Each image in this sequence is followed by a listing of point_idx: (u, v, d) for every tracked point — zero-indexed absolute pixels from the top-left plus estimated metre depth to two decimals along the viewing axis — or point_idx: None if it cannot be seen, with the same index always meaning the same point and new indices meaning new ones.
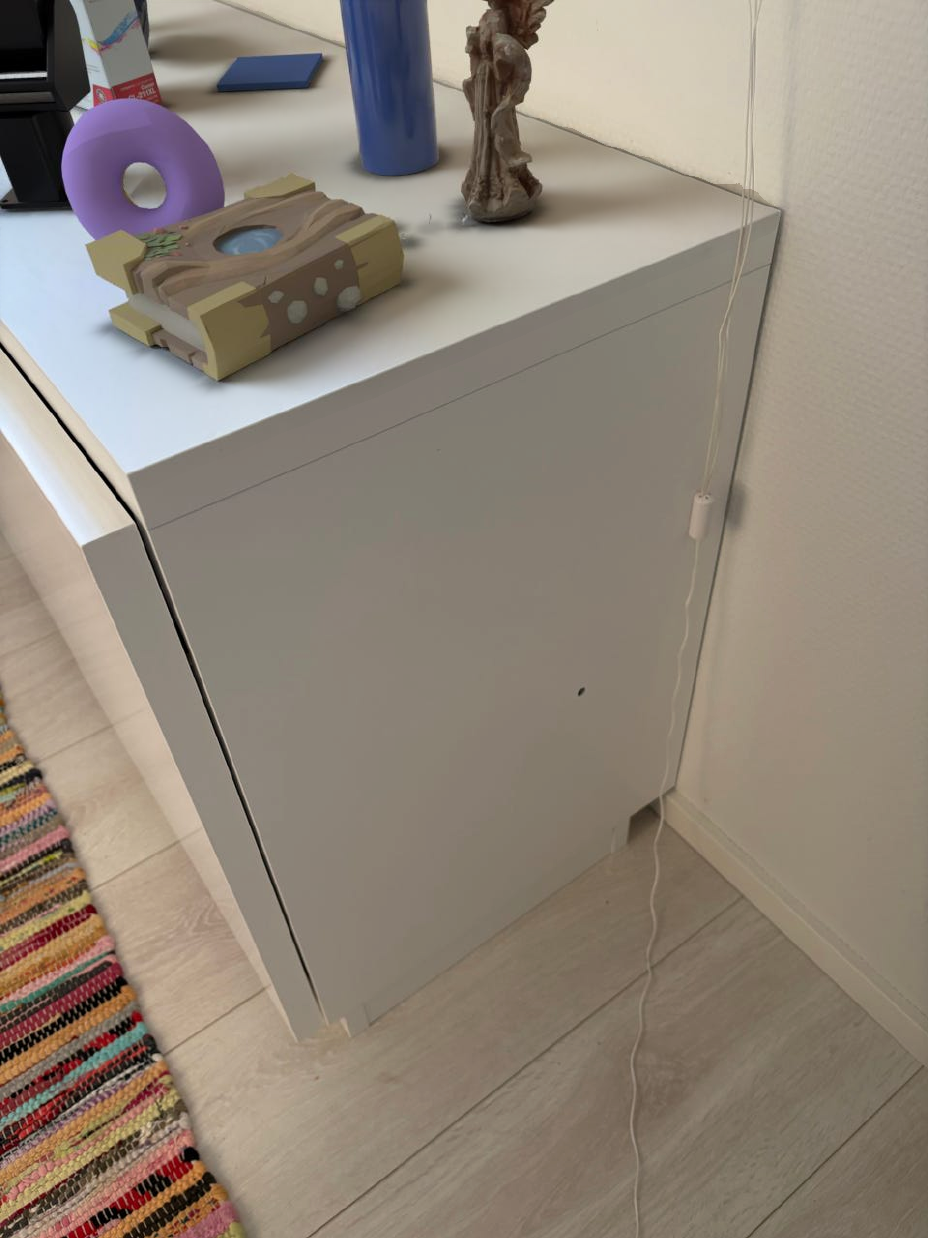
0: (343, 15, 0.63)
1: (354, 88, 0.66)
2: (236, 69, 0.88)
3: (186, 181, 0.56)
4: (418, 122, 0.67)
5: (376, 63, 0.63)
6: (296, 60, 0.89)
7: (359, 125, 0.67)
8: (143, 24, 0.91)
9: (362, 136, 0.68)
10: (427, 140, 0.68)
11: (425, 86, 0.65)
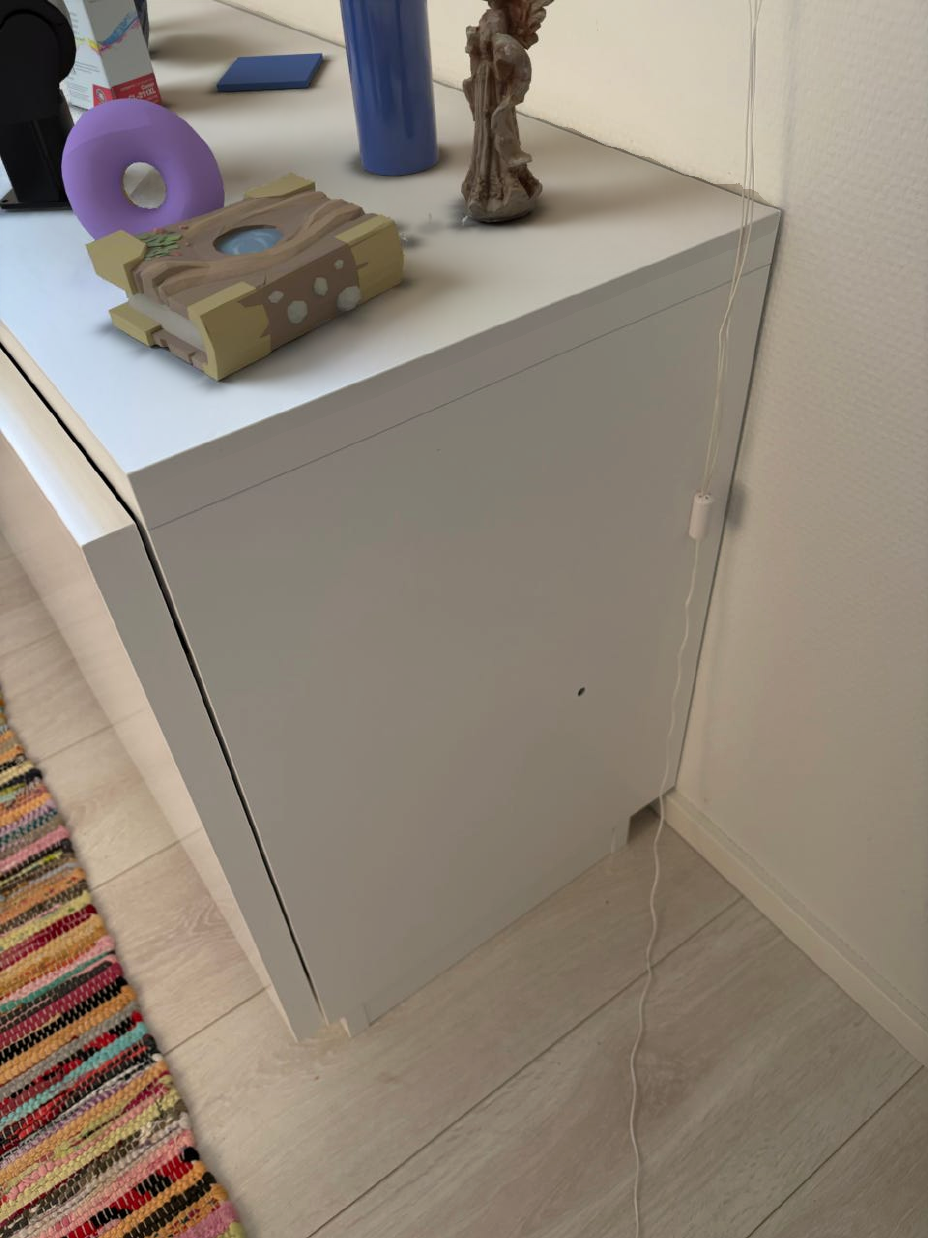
0: (343, 15, 0.63)
1: (354, 88, 0.66)
2: (236, 69, 0.88)
3: (186, 181, 0.56)
4: (418, 122, 0.67)
5: (376, 63, 0.63)
6: (296, 60, 0.89)
7: (359, 125, 0.67)
8: (143, 24, 0.91)
9: (362, 136, 0.68)
10: (427, 140, 0.68)
11: (425, 86, 0.65)
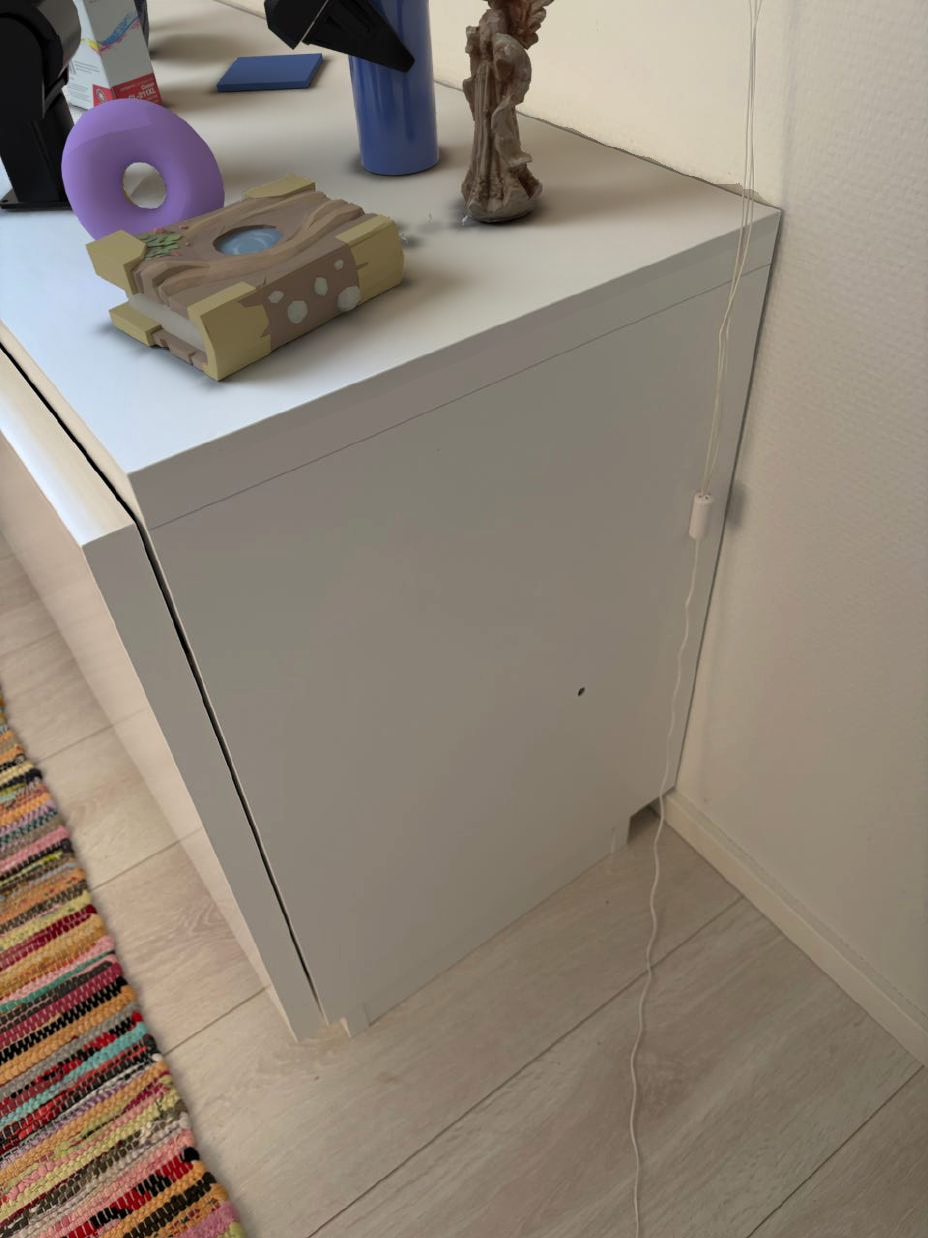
0: None
1: (355, 87, 0.66)
2: (236, 69, 0.88)
3: (186, 181, 0.56)
4: (419, 121, 0.66)
5: None
6: (296, 60, 0.89)
7: (360, 124, 0.67)
8: (143, 24, 0.91)
9: (362, 135, 0.68)
10: (428, 140, 0.68)
11: (426, 85, 0.65)
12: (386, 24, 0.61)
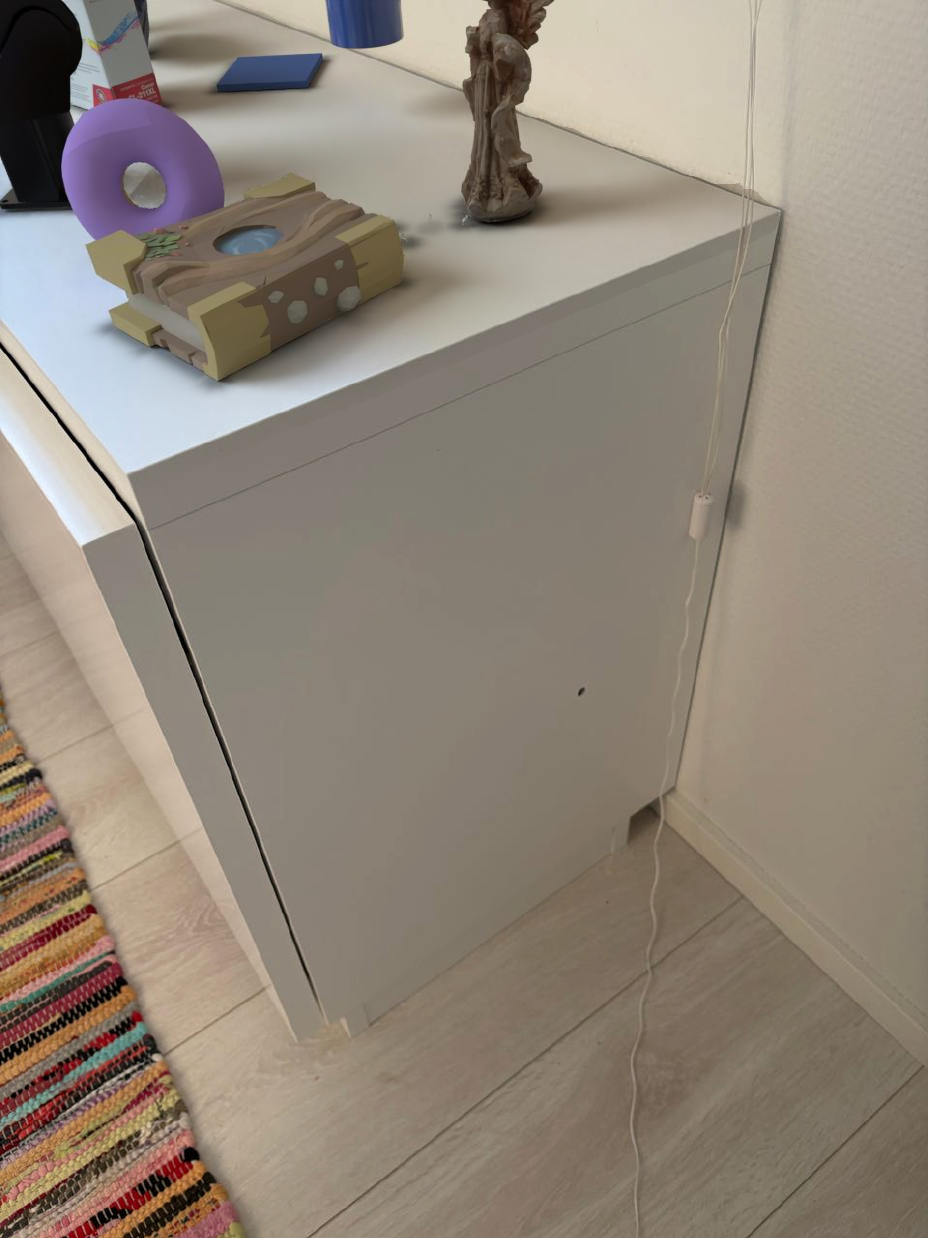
0: None
1: None
2: (236, 69, 0.88)
3: (186, 181, 0.56)
4: None
5: None
6: (296, 60, 0.89)
7: (339, 1, 0.71)
8: (143, 24, 0.91)
9: (342, 12, 0.72)
10: (400, 10, 0.73)
11: None
12: None
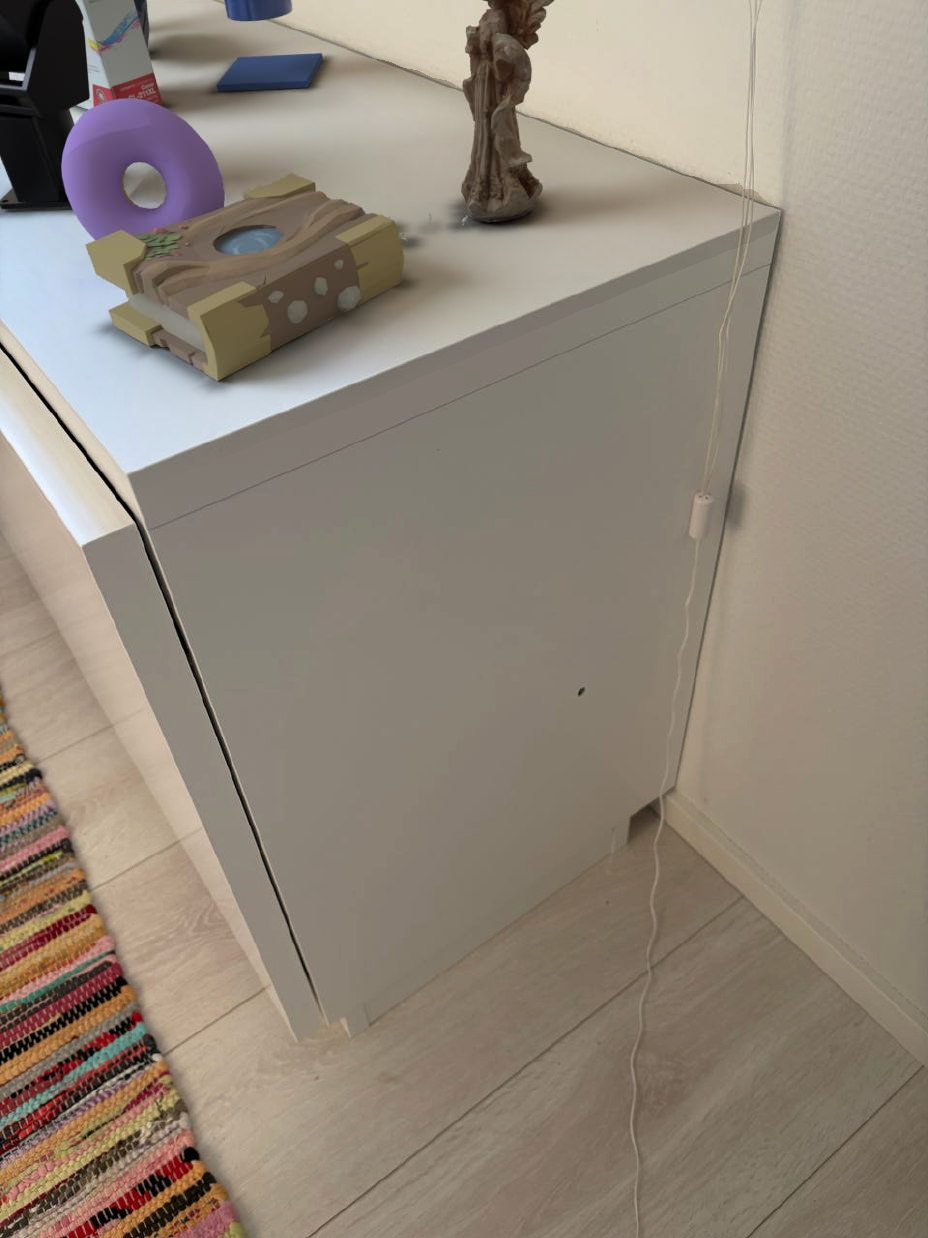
0: None
1: None
2: (236, 69, 0.88)
3: (186, 181, 0.56)
4: None
5: None
6: (296, 60, 0.89)
7: None
8: (143, 24, 0.91)
9: None
10: None
11: None
12: None
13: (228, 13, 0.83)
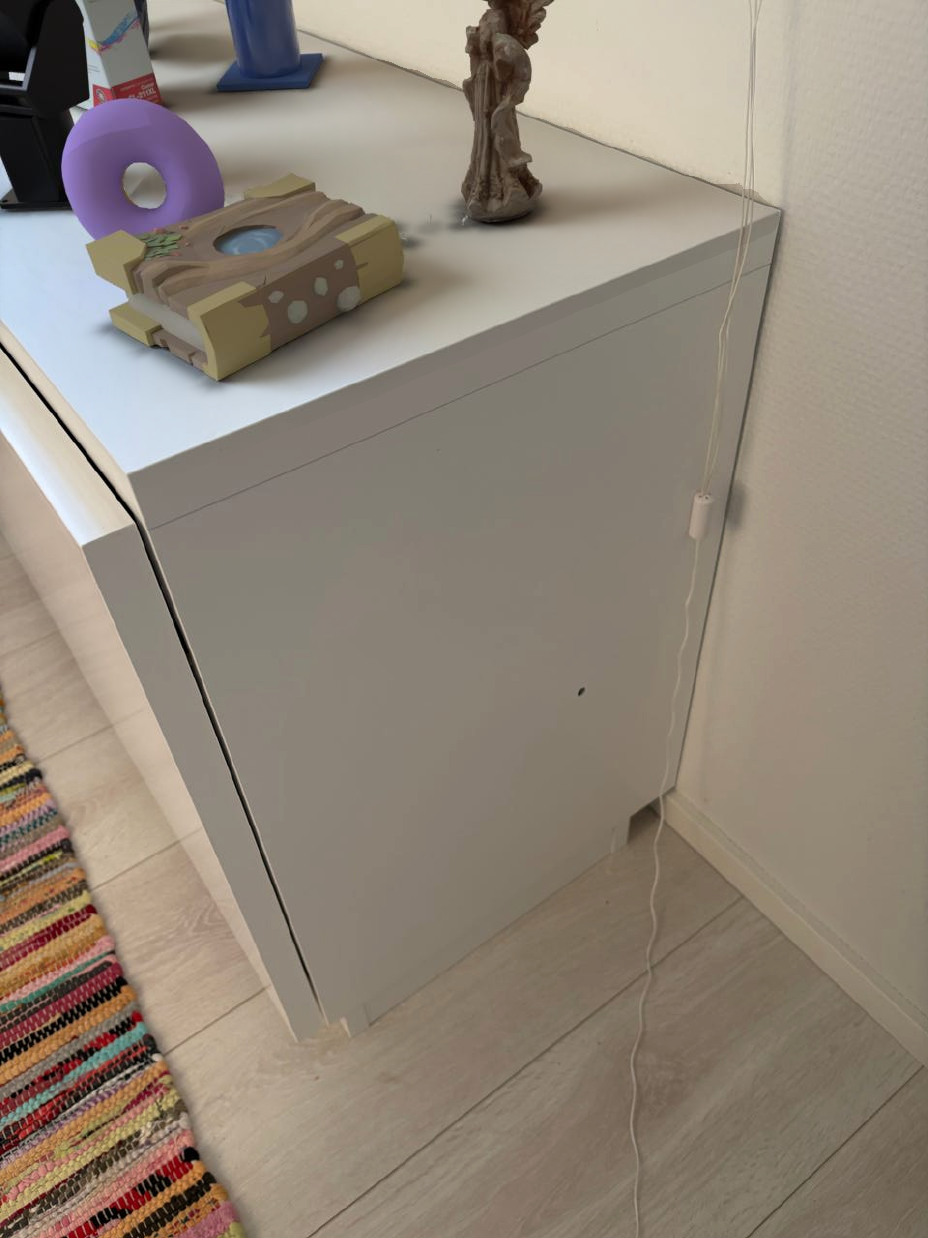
0: None
1: (253, 7, 0.81)
2: (236, 69, 0.88)
3: (186, 181, 0.56)
4: (295, 24, 0.85)
5: None
6: None
7: (259, 39, 0.83)
8: (143, 24, 0.91)
9: (263, 48, 0.84)
10: None
11: None
12: None
13: (241, 70, 0.86)
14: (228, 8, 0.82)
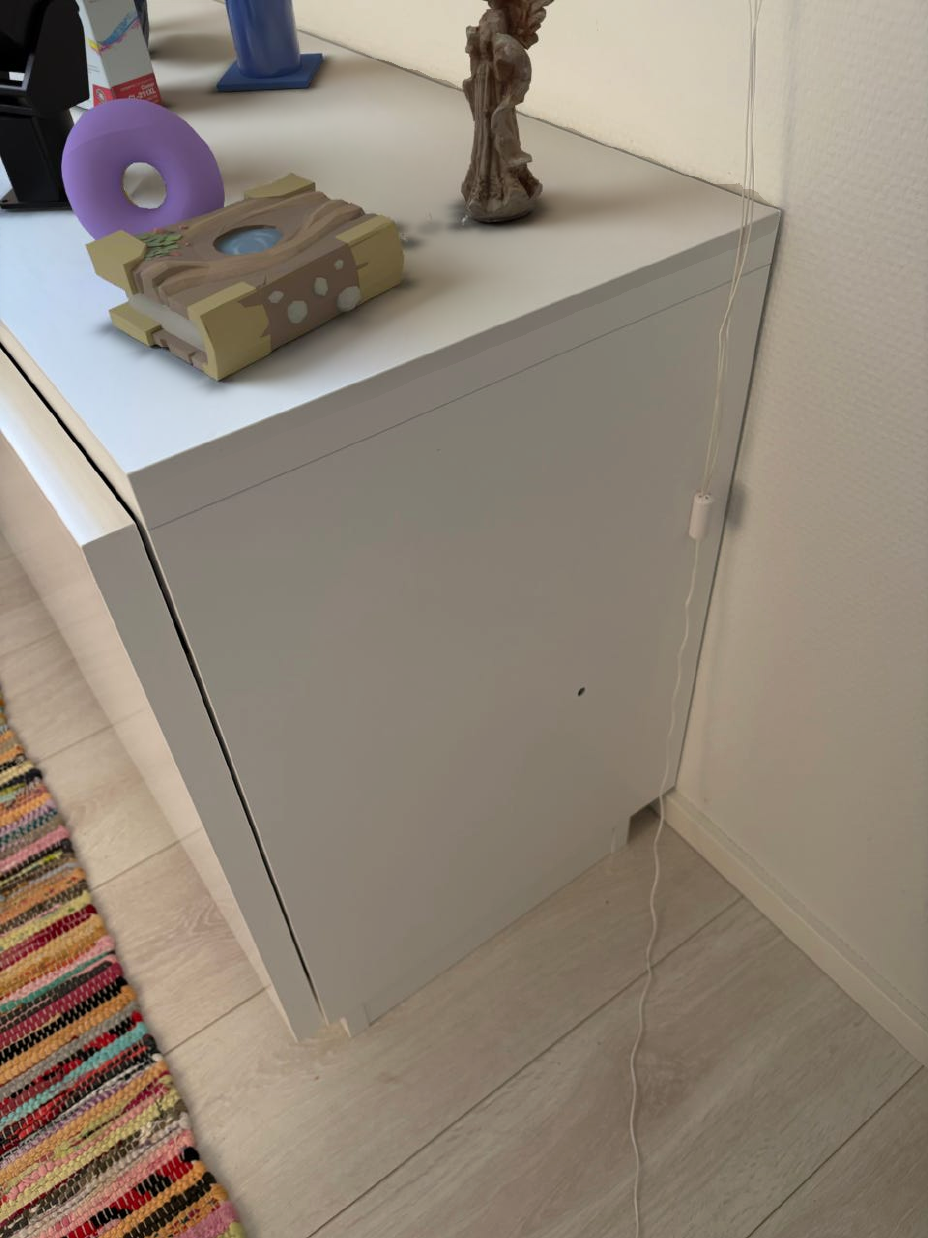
0: None
1: (253, 7, 0.81)
2: (236, 69, 0.88)
3: (186, 181, 0.56)
4: (295, 24, 0.85)
5: None
6: None
7: (259, 39, 0.83)
8: (143, 24, 0.91)
9: (263, 48, 0.84)
10: None
11: None
12: None
13: (241, 70, 0.86)
14: (228, 8, 0.82)
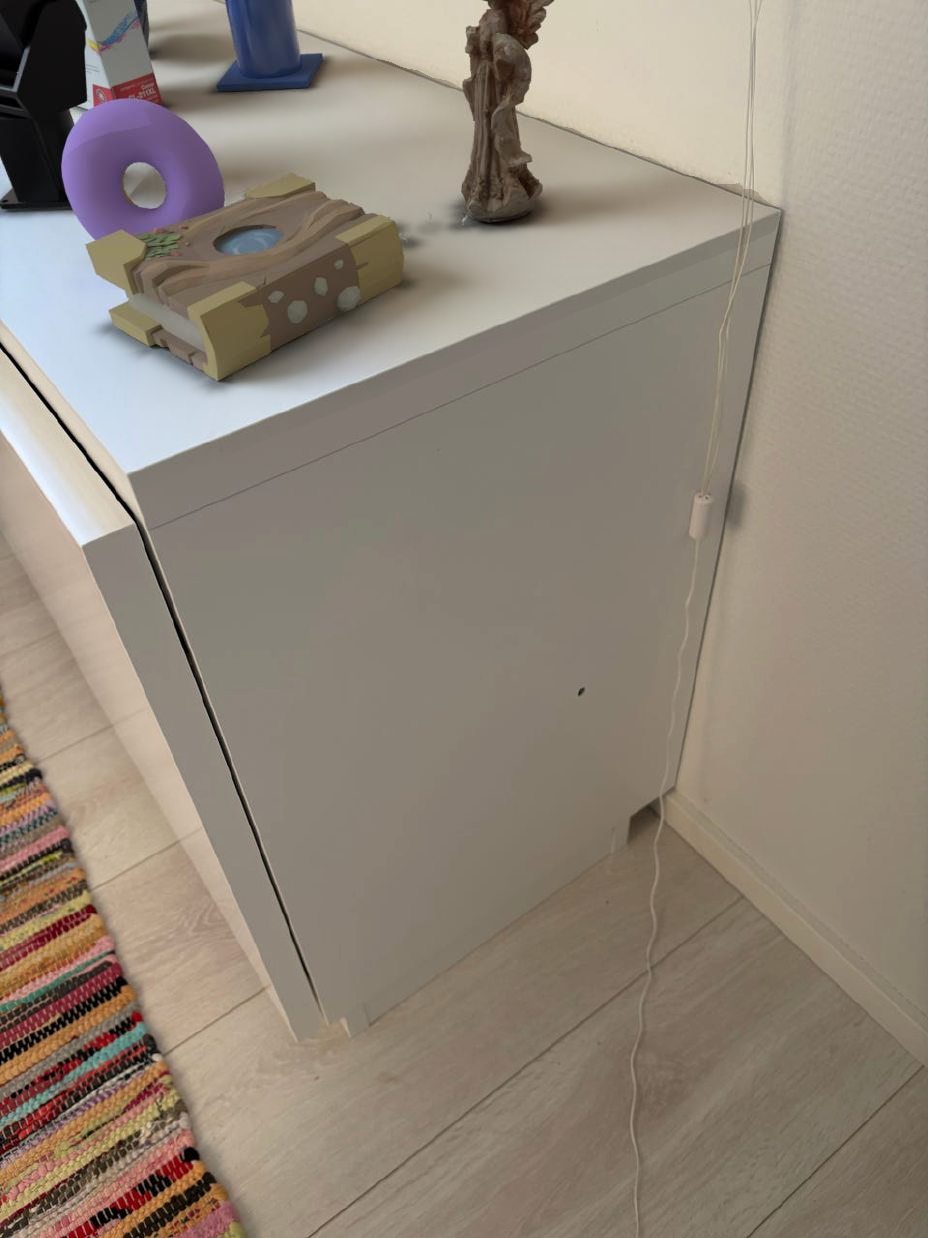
0: None
1: (253, 7, 0.81)
2: (236, 69, 0.88)
3: (186, 181, 0.56)
4: (295, 24, 0.85)
5: None
6: None
7: (259, 39, 0.83)
8: (143, 24, 0.91)
9: (263, 48, 0.84)
10: None
11: None
12: None
13: (241, 70, 0.86)
14: (228, 8, 0.82)
